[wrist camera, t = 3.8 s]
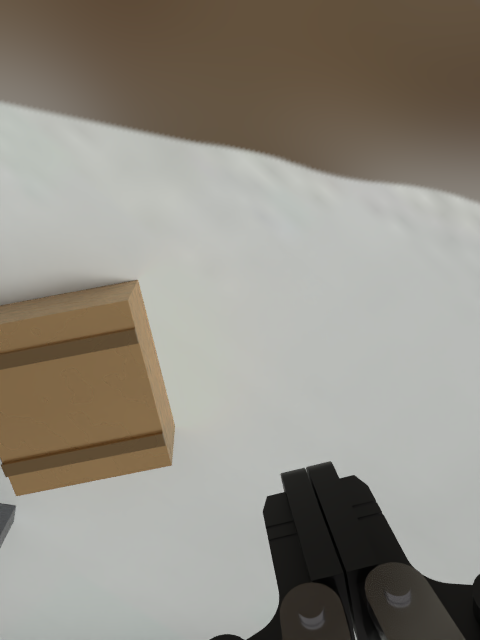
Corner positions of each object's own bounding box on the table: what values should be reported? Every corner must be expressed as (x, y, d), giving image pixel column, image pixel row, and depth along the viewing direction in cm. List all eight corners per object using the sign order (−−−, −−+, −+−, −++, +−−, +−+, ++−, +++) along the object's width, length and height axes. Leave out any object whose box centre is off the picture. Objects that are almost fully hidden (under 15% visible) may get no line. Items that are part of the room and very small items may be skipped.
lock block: (138, 278, 24) (127, 301, 20) (175, 423, 27) (171, 467, 23) (-13, 306, 24) (-54, 335, 20) (41, 449, 27) (14, 499, 23)
